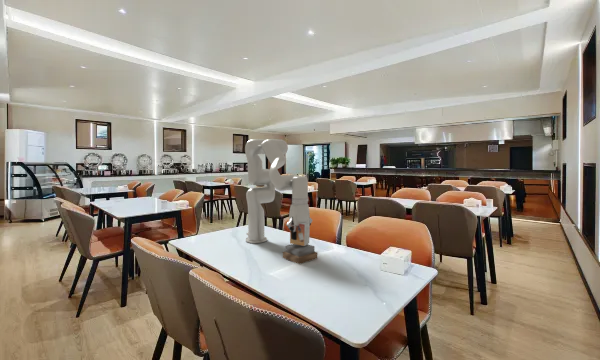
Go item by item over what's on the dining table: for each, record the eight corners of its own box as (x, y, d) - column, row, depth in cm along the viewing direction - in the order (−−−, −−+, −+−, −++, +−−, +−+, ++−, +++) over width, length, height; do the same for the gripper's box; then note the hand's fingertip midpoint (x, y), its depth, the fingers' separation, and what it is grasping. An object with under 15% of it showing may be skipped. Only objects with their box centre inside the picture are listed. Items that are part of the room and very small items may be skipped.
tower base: (282, 257, 144) (282, 245, 143) (300, 252, 152) (300, 241, 151) (299, 264, 135) (299, 251, 134) (317, 258, 143) (317, 246, 142)
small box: (289, 243, 142) (289, 222, 142) (295, 241, 147) (295, 220, 147) (304, 246, 139) (304, 224, 138) (309, 243, 143) (309, 222, 143)
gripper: (307, 199, 150) (307, 233, 151) (280, 202, 138) (280, 239, 140) (318, 201, 145) (317, 236, 146) (291, 204, 133) (291, 243, 134)
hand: (299, 237), depth 143 cm, fingers closed on small box, 7 cm apart
